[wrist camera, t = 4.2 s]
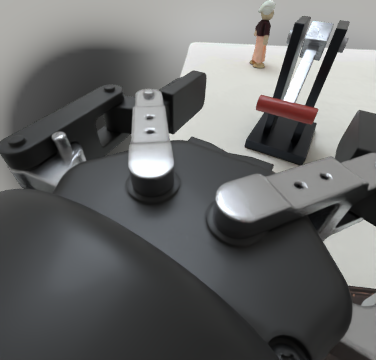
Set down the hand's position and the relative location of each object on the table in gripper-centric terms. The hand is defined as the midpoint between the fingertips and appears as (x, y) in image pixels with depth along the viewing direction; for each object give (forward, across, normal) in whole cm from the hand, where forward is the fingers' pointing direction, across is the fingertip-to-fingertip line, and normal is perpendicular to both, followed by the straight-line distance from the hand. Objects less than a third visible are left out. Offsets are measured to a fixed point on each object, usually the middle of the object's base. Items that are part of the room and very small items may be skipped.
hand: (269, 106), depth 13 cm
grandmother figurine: (+50, +13, +14) cm, 53 cm away
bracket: (+20, 0, +14) cm, 25 cm away
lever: (+17, 0, +4) cm, 17 cm away
